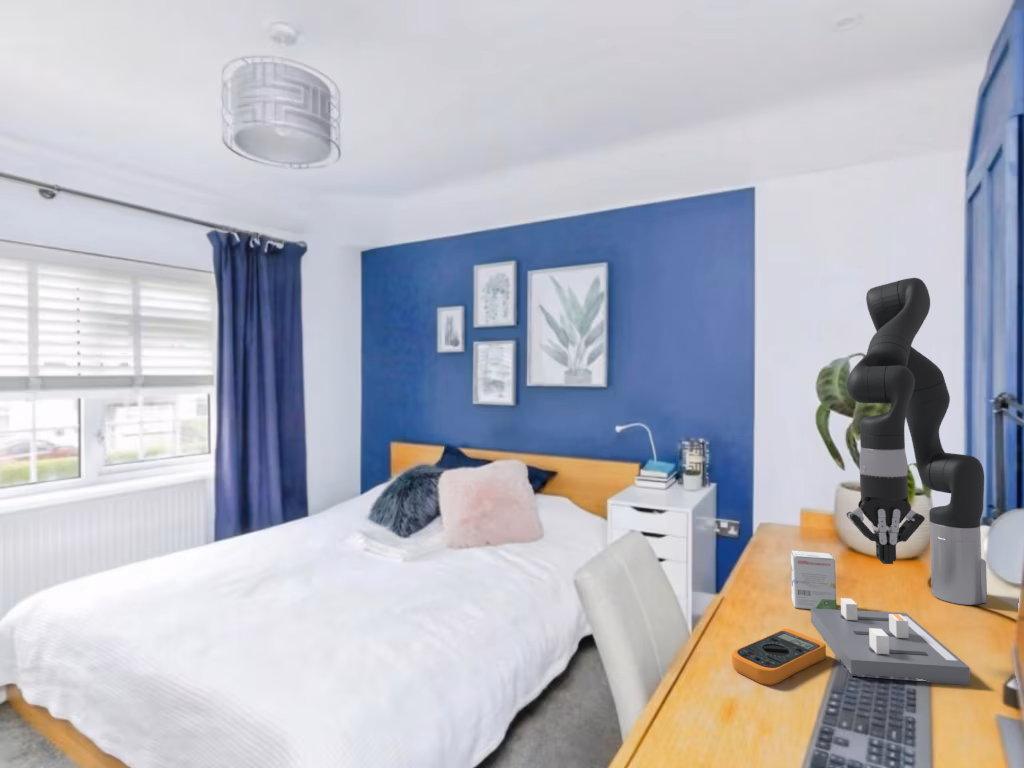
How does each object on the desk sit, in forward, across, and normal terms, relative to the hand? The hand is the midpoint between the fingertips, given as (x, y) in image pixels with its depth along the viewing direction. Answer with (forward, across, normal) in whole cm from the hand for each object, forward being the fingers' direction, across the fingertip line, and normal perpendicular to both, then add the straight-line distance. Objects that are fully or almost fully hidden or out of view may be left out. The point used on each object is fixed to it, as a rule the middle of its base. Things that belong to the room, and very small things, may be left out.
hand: (886, 562), depth 106 cm
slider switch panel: (+17, +1, 0) cm, 17 cm away
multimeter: (+17, +22, +8) cm, 29 cm away
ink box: (+17, +7, -20) cm, 27 cm away
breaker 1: (+14, +4, -7) cm, 16 cm away
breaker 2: (+14, +4, +7) cm, 16 cm away
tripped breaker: (+14, -2, 0) cm, 14 cm away
